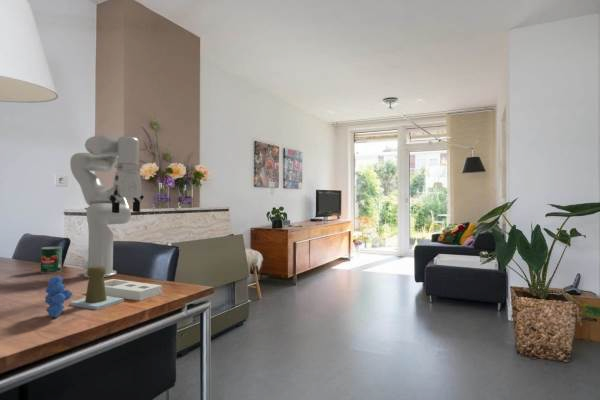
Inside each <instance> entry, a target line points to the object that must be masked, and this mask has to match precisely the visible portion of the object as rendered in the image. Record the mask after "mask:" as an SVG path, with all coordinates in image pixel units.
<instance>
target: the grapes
mask: <svg viewBox="0 0 600 400" xmlns="http://www.w3.org/2000/svg"><path fill="white" fill-rule="evenodd" d="M63 282H64V279H63V277H60V275H56V276H55V275H54V276H53V277H51V278H49V279H48V281H47V283H46V284H47V286H48V287H46V289H45V290H44V291H45V292H46V296H45V297H44V299H45V300H44V303H46V304H47V305H48V307H47V308H46V310H45V311H46V312H47V314H48V315H49V316H50V317H51V318H52V319H53V318H54V319H55V318H58V317H59V316H60V315H61V314H62V312H63V310H64V309H65V306H64V305H63V304H64V303H65V301H67V300H69V299H70V298H71V297H72V296H73V292H72V291H71V290H69V289H65V288H66V285H65V284H64V283H63Z"/></svg>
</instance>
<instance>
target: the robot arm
mask: <svg viewBox="0 0 600 400" xmlns="http://www.w3.org/2000/svg"><path fill="white" fill-rule="evenodd" d="M84 147H85V149H86V151H87V152H77V153H74V154H73V155H72V156H71V157H70V163H69V164H70V171H71V173H72V176H73V177H74V179H75V180H76V181H77V184H78V185H79V186H80V189H81V192H82V195H83V198H84V201H85V203H86V204H87V205H88V206H87V208H86V213H85V214H86V220H87V226H88V247H87V248H88V251H87V253H88V254H87V255H88V256H87V258H88V259H87V261H88V262H87V264H86V265H85V266H83V270H86V272H84V273H83V277H85V278H88V279H89V276H88V274H87V270H88V268H90V267H92V266H103V267H104V268H105V270H106V272H105V275H104V278H108V277H113V276H115V275H117V270H114V269H113V267H114V234H113V231H112V230H111V228H110V227H109V225H125V224H127V223H129V221H130V220H131V219H132V218H131V217H132V214H131V213H132V212H134V213H140V211H141V203H142V202H143V201H142V200H144V197H145V195H146V191H145V190H143V189H142V179H141V174H140V172H139V155H140V154H139V151H140V141H139V139H138V138H137V137H134V136H133V137H132V136H119V137H117V136H109V135H99V134H96V135H94V136H90V137H88V138H87V139H86V141H85V142H84ZM114 167H115V168H116V171H115V174H114V177H113V183H112V185H113V186H110V185H109V186H105V185H103V183H102V181H101V179H100V178H99V177H98V176H97V175H96V174H94V173H93V172H98V173H109V172H111V171H112V170H113V169H114ZM127 198H128V199H129V198H131V199H132V200H133V202H132V212H131V208H130V206H129V203H128V201H127Z"/></svg>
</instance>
